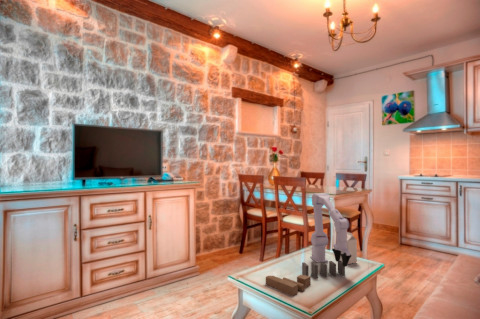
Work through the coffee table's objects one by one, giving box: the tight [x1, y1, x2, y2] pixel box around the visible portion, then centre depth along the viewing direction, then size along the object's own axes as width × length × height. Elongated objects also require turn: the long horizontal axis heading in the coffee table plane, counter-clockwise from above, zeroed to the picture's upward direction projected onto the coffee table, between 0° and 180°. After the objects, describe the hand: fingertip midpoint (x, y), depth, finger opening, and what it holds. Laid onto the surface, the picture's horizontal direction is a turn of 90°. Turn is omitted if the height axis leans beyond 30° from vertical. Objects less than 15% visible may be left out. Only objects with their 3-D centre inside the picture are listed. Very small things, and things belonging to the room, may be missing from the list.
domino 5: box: [337, 260, 346, 277], centre depth 152 cm, size 2×5×7 cm, turn 9°
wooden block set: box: [265, 274, 312, 297], centre depth 139 cm, size 17×6×18 cm
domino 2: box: [310, 261, 319, 279], centre depth 150 cm, size 2×5×7 cm, turn 10°
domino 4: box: [328, 260, 337, 278], centre depth 151 cm, size 2×5×7 cm, turn 10°
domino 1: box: [301, 262, 309, 276], centre depth 149 cm, size 2×5×7 cm, turn 10°
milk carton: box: [340, 231, 358, 265], centre depth 172 cm, size 7×7×19 cm
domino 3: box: [319, 261, 328, 278], centre depth 150 cm, size 2×5×7 cm, turn 10°
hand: (341, 263), depth 152 cm, fingers open, 7 cm apart
